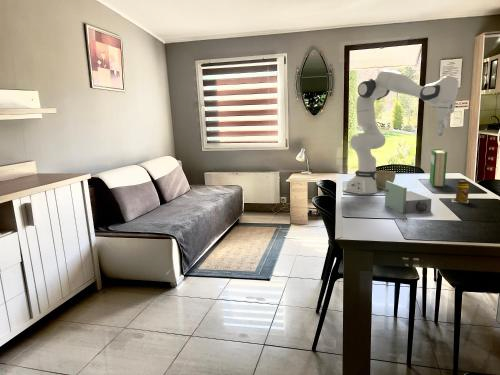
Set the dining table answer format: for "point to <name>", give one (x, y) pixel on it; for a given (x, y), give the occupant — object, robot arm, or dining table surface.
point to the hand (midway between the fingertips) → (439, 134)
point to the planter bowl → (384, 178)
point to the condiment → (462, 192)
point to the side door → (395, 197)
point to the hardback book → (438, 167)
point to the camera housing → (417, 203)
